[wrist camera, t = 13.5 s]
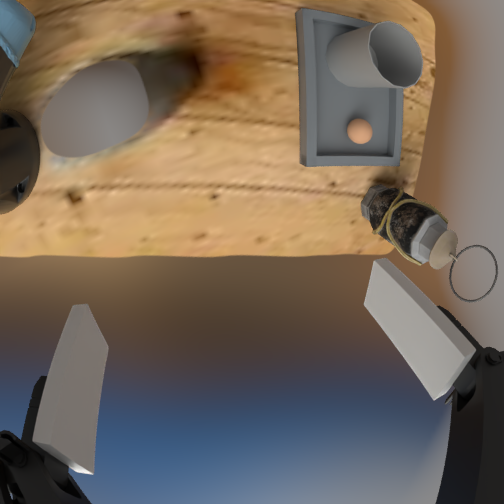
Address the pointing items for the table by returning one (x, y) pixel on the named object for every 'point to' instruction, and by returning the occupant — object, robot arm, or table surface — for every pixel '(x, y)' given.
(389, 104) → the tray
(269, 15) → the table surface
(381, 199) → the lantern
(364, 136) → the ball
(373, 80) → the cup
